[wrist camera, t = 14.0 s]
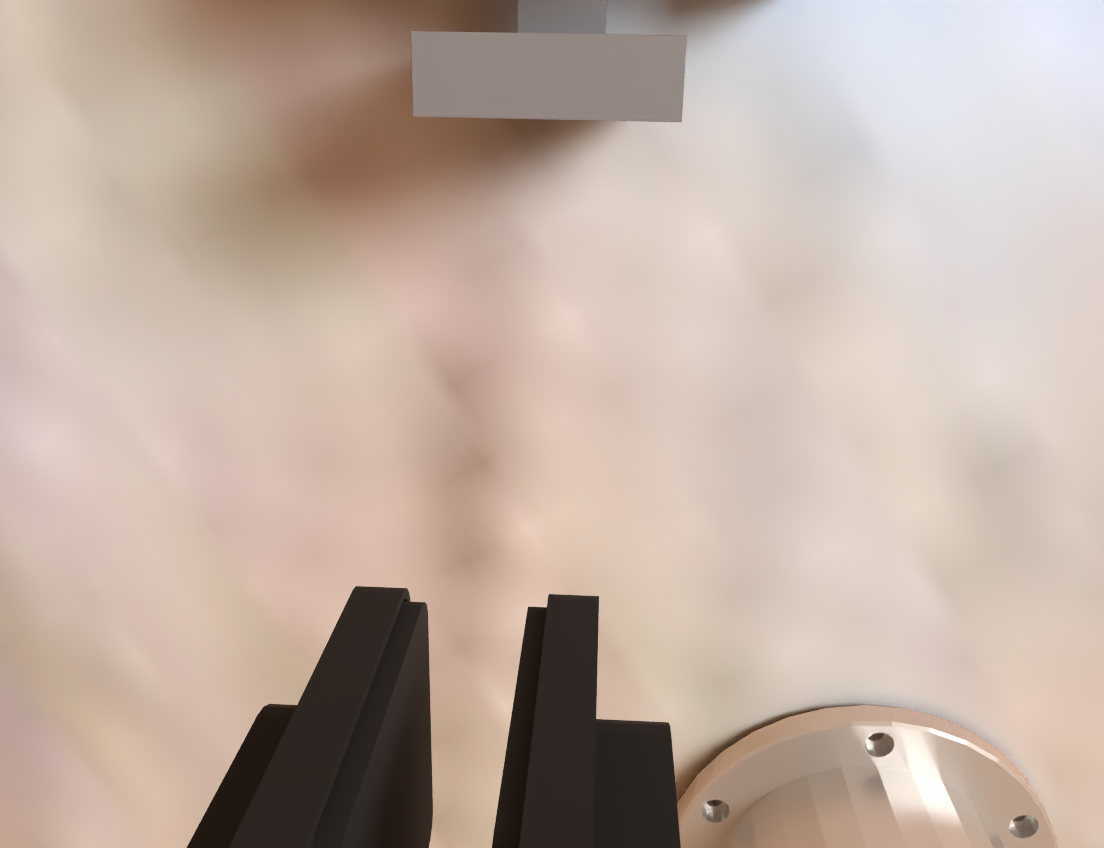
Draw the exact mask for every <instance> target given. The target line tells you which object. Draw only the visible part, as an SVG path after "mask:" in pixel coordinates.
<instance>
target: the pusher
mask: <svg viewBox="0 0 1104 848" xmlns="http://www.w3.org/2000/svg"><path fill="white" fill-rule="evenodd" d="M605 30H606V0H518V33H502V32H444V31H411V52H412V90H413V117H459V118H506V119H554V120H602V121H649V122H682V107H683V89H684V71H685V54H686V36H675V35H617V34H605Z"/></svg>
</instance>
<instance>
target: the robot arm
mask: <svg viewBox="0 0 1104 848" xmlns="http://www.w3.org/2000/svg"><path fill="white" fill-rule="evenodd" d="M598 612H599V596H579V595H555V594H549V596H548V604H547V608H544V607H528V611H527V617H526V624H525V631H524V637H523V644H522V650H521V657H520V664H519V670H518V677H517V683H516V690H515V697H514V703H513V710H512V716H511V723H510V730H509V736H508V743H507V750H506V756H505V763H504V769H503V776H502V783H501V789H500V796H499V802H498V809H497V816H496V822H495V829H494V836H493V844H492V848H1058V847H1057V840H1056V836H1055V833H1054V831H1053V828H1052V826H1051V824H1050V821H1049V819H1048V816H1047V814H1046V812H1045V809H1044V807H1043V806H1042V804H1041V802H1040V801H1039V799H1038V797H1037V796H1036V794H1035V792H1034V791H1033V789H1032V787H1031V786H1030V784H1029V782H1028V781H1027V779H1026V777H1025V776H1024V775H1023V774H1022V773H1021V772H1020V771H1019V770H1018V769H1017V768H1016V767H1015V765H1014V764H1013V763H1012V762H1011V761H1010V760H1009V759H1008V758H1007V757H1006V756H1005V755H1004V753H1002V752H1001V751H999V750H998V749H997V748H995V747H994V746H992V745H991V744H990V743H988V742H987V741H985V740H984V739H983V738H981V737H980V736H978V735H977V734H976V733H974V732H972V731H969V730H967V729H965V728H963V727H961V726H958V725H956V724H954V723H952V722H950V721H948V720H945V719H943V718H940V717H937V716H933V715H929V714H925V713H921V712H917V711H913V710H909V709H905V708H895V707H884V706H872V705H858V706H845V707H832V708H824V709H820V710H816V711H811V712H807V713H803V714H799V715H794V716H790V717H787V718H785V719H782V720H780V721H778V722H775V723H773V724H770V725H768V726H766V727H763V728H761V729H758V730H756V731H754V732H752V733H751V734H749V735H747V736H746V737H744V738H743V739H741V740H740V741H738V742H736V743H735V744H733V745H732V746H730V747H729V748H727V749H725V750H724V751H722V752H721V753H720V754H719V755H718V756H717V757H716V758H715V759H714V760H713V761H712V762H711V763H710V764H708V765H707V766H706V767H705V768H704V769H703V770H702V771H701V772H700V773H699V774H698V775H697V776H696V777H695V779H694V780H693V782H692V783H691V784H690V786H689V787H688V789H687V790H686V791H685V793H684V794H683V795H682V797H681V798H680V800H679V801H678V803H677V798H676V786H675V775H674V763H673V752H672V740H671V731H670V725H669V723H666V722H645V721H623V720H602V719H596V696H597V654H598ZM432 816H433V798H432V758H431V718H430V679H429V639H428V610H427V605H426V603H425V602H410V596H409V591H408V589H407V588H385V587H361V586H357V587H355V588H354V589H353V591H352V593H351V595H350V597H349V599H348V601H347V603H346V605H345V608H344V610H343V612H342V614H341V616H340V618H339V620H338V622H337V624H336V626H335V628H334V630H333V632H332V635H331V637H330V639H329V641H328V643H327V645H326V647H325V649H324V651H323V653H322V655H321V657H320V659H319V662H318V664H317V666H316V668H315V670H314V672H313V674H312V676H311V678H310V680H309V682H308V684H307V686H306V688H305V691H304V693H303V695H302V697H301V699H300V701H299V703H298V705H280V704H269V705H266V706H264V707H263V709H262V710H261V711H260V713H259V714H258V715H257V717H256V719H255V721H254V723H253V725H252V727H251V729H250V730H249V732H248V734H247V736H246V738H245V740H244V742H243V743H242V745H241V747H240V749H239V751H238V753H237V755H236V757H235V758H234V760H233V762H232V764H231V766H230V768H229V770H228V772H227V773H226V775H225V777H224V779H223V781H222V783H221V785H220V786H219V788H218V790H217V792H216V794H215V796H214V798H213V800H212V801H211V803H210V805H209V807H208V809H207V811H206V813H205V815H204V816H203V818H202V820H201V822H200V824H199V826H198V828H197V829H196V831H195V833H194V835H193V837H192V839H191V841H190V843H189V844H188V846H187V848H429V843H430V837H431V829H432Z"/></svg>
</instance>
